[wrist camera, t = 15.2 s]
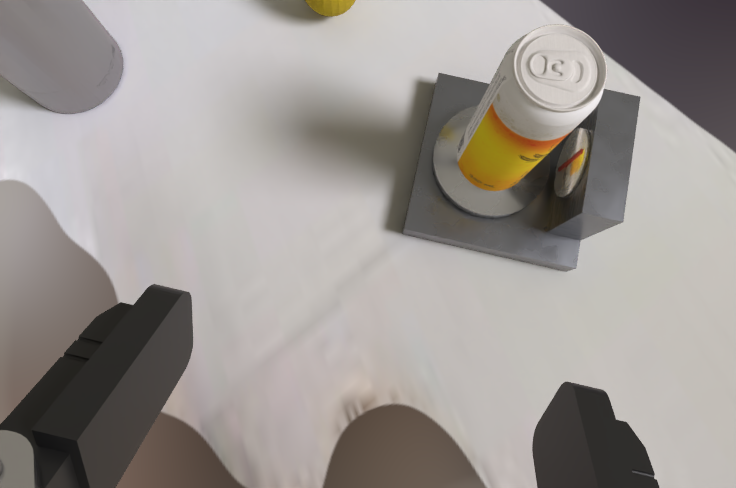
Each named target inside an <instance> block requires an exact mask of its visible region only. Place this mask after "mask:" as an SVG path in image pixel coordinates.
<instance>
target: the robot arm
mask: <svg viewBox="0 0 736 488" xmlns="http://www.w3.org/2000/svg"><path fill="white" fill-rule="evenodd" d="M122 72H123V57H122V53H121V50H120V48H119V46H118V44H117V42H116V41H115V40H114V39H113V37H112V36H111V35H110V34H109V33H108V31H107V30H106V29H105V28H104V26H103V25H102V24H101V23H100V21H99V20H98V19H97V18H96V16H95V15H94V14H93V13H92V11H91V10H90V9H89V8H88V6H87V5H86V4H85V3H84V2H83V0H0V76H2V77H3V78H5V79H6V80H7V81H9V82H10V83H11V84H13V85H14V86H15V87H17V88H18V89H20V90H21V91H22V92H24V93H25V94H26V95H28V96H29V97H31V98H32V99H33V100H35V101H36V102H37V103H39V104H40V105H42V106H43V107H45V108H47V109H49V110H51V111H55V112H59V113H78V112H84V111H87V110H89V109H92V108H94V107H96V106H98V105H99V104H101V103H103V102H104V101H105V100H106V99H107V98H108V97H109V96H110V95H111V94H112V93H113V92H114V90H115V89H116V88H117V86H118V84H119V81H120V79H121V76H122ZM192 348H193V325H192V300H191V295H190V293H189V292H186V291H182V290H177V289H173V288H169V287H164V286H160V285H156V284H153V285H151V286H149V287H148V288H147V289H146V290H145V292H144V293H143V294H142V295H141V297H140V298H139V299H138V300H137V301H136V303H135V304H134V305H130V304H126V303H119V304H117V305H116V306H114V307H112V308H111V309H109V310H107V311H105V312H104V313H102V314H100V315H99V316H97V317H96V318H95V319H94V320H93V321H92V322H91V324H90V325H89V326H88V327H87V328H86V329H85V330H84V331H83V333H82V334H81V335H80V336H79V339H78V340H77V341H74V343H73V344H72V345H71V346H70V347H69V348H68V349H67V350H66V352H65V353H64V356H63V357H60V358H59V359H58V361H57V362H56V363H55V364H54V365H53V366H52V367H51V368H50V370H49V371H48V372H47V373H46V374H45V375H44V376H43V378H42V379H41V380H40V381H39V382H38V383H37V384H36V385H35V387H34V388H33V389H32V390H31V391H30V392H29V393H28V395H26V397H25V398H24V399H23V400H22V401H21V402H20V404H19V405H18V406H17V407H16V408H15V409H14V410H13V411H12V412H11V414H10V415H9V416H8V417H7V418H6V419H5V420H4V421H3V422H2V423H1V424H0V488H115V487H116V486H117V484H118V482H119V481H120V479H121V477H122V475H123V474H124V472H125V471H126V469H127V467H128V465H129V464H130V462H131V460H132V459H133V457H134V455H135V454H136V452H137V450H138V448H139V447H140V445H141V443H142V442H143V440H144V438H145V437H146V435H147V433H148V432H149V430H150V428H151V426H152V425H153V423H154V422H155V419H156V418H157V416H158V415H159V413H160V411H161V410H162V408H163V406H164V405H165V403H166V401H167V400H168V398H169V396H170V394H171V393H172V391H173V389H174V388H175V386H176V384H177V383H178V381H179V379H180V378H181V376H182V374H183V372H184V371H185V369H186V367H187V365H188V362H189V359H190V356H191V353H192ZM533 459H534V466H535V473H536V480H537V487H538V488H659V485H658V482H657V480H656V479H654V475H655V474H654V471H653V468H652V465H651V462H650V460H649V457H648V454H647V451H646V448H645V447H644V445H643V444H642V442H641V441H640V440H639V438H638V437H637V436H636V434H635V433H634V431H633V430H632V429H631V427H630V426H629V425H628V423H627V422H623V421H619V420H616V418H615V415H614V412H613V409H612V406H611V403H610V400H609V397H608V395H607V393H606V392H605V391H603V390H601V389H596V388H592V387H588V386H584V385H579V384H575V383H571V382H564V383H563V384H562V385H561V386H560V388H559V389H558V391H557V393H556V394H555V396H554V398H553V399H552V401H551V402H550V404H549V406H548V407H547V409H546V411H545V412H544V414H543V416H542V417H541V419H540V421H539V422H538V424H537V426H536V429H535V432H534V437H533Z"/></svg>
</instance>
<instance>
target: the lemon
mask: <svg viewBox="0 0 736 488" xmlns="http://www.w3.org/2000/svg"><path fill="white" fill-rule="evenodd" d="M305 1H306V2H307V4H308V5H309V6H310V7H311V8H312V9H313V10H314V11H315V12H317V13H319V14H321V15H324V16H338V15H341V14H343V13H345V12H346V11H347V10H348V9H350V7H351V6H352V5H353V4H354V2H355V0H305Z"/></svg>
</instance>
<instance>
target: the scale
mask: <svg viewBox="0 0 736 488" xmlns="http://www.w3.org/2000/svg"><path fill="white" fill-rule="evenodd" d="M489 85H490V84H487V83H483V82H478V81H474V80H469V79H464V78H460V77H455V76H451V75H446V74H442V73H439V74H438V77H437V80H436V84H435V88H434V93H433V97H432V102H431V106H430V111H429V115H428V120H427V124H426V129H425V133H424V138H423V142H422V147H421V151H420V156H419V161H418V165H417V170H416V174H415V179H414V183H413V188H412V192H411V197H410V201H409V206H408V210H407V215H406V219H405V224H404V228H403V233H402V234H405V235H409V236H414V237H418V238H423V239H427V240H431V241H436V242H440V243H444V244H449V245H453V246H458V247H462V248H466V249H471V250H475V251H480V252H484V253H488V254H493V255H497V256H501V257H506V258H510V259H515V260H519V261H523V262H528V263H532V264H536V265H541V266H545V267H550V268H554V269H558V270H563V271H569V270H572V269H576V266H577V259H578V253H579V246H580V240H582V239H585V238H587V237H589V236H592V235H594V234H596V233H599V232H601V231H603V230H606V229H608V228H610V227H613V226H615V225H617V224H620V223H622V222H623V219H624V212H625V205H626V197H627V190H628V183H629V175H630V168H631V161H632V153H633V146H634V139H635V132H636V124H637V117H638V110H639V102H640V97H638V96H634V95H629V94H625V93H620V92H616V91H611V90H607V89H604V90H603V94H602V97H601V99H600V102H599V103H598V105H597V107H596V108H595V109H594V110H593V111H592V112H591V113H590V114H589V115H588V116H587V117H586V118H585V119H584V120H583V121H582V122H581V123H580V124H579V125H578V126H577V127H576V128H575V129H574V130H572V131H571V132H570V133H569V134H568V135H567V136H566V137H565V138H564V139H563V140H562V141H561V142H560V143H559V144H558V145H557V146H556V147H555V148H554V149H553V150H551V151H550V152H549V154H550V171H549V175H548V179H547V182H546V184H545V186H544V188H543V190H542V191H541V193H540V194H539V195H538V196H537V198H536V199H534V200H533V201H532V202H531V203H530V204H529V205H527V206H526V207H525V208H523V209H522V210H520V211H518V212H516V213H514V214H511V215H508V216H504V217H497V218H486V217H480V216H476V215H473V214H470V213H468V212H465V211H463V210H462V209H460V208H458V207H457V206H456V205H454V204H453V203H452V202H451V201H450V200H449V199H448V198H447V197H446V196H445V195H444V193H443V192H442V190H441V189H440V187H439V185H438V183H437V181H436V178H435V175H434V171H433V151H434V147H435V143H436V141H437V138H438V136H439V134H440V132H441V130H442V129H443V127H444V126H445V125H446V123H447V122H448V121H449V120H450V119H451V118H452V117H453V116H455V115H456V114H458V113H459V112H461V111H463V110H465V109H467V108H470V107H473V106H477V105H479V104H480V102H481V100H482V98H483V96H484V94H485V92H486V90H487V88H488V87H489Z"/></svg>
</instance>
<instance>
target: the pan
mask: <svg viewBox="0 0 736 488" xmlns="http://www.w3.org/2000/svg"><path fill="white" fill-rule="evenodd" d="M478 106H479V105H477V106H473V107H470V108H467V109H465V110H463V111H461V112H459V113H458V114H456V115H455V116H453V117H452V118H451V119H450V120H449V121H448V122H447V123H446V125H445V126H444V127H443V129H442V130H441V132H440V134H439V136H438V138H437V141H436V143H435V147H434V151H433V171H434V175H435V178H436V181H437V183H438V185H439V187H440V189H441V190H442V192H443V193H444V195H445V196H446V197H447V198H448V199H449V200H450V201H451V202H452V203H453V204H454V205H456V206H457V207H458V208H460V209H462V210H463V211H465V212H468V213H470V214H473V215H476V216H480V217H486V218H497V217H504V216H508V215H511V214H514V213H516V212H518V211H520V210H522V209H523V208H525V207H526V206H527V205H529V204H530V203H531V202H532V201H533V200H534V199H536V198H537V196H538V195H539V194H540V193H541V191H542V190H543V188H544V186H545V184H546V182H547V179H548V175H549V171H550V154H549V153H548V154H547V155H546V156H545V157H544V158H543V159H542V160H541V161H540V162H539V163H538V164H537V165H536V166H535V167H534V168H533V169H532V170H531V171H529V172H528V173H527V174H526V175H525V176H524V177H523V178H522V179H521V180H520V181H519V182H518V183H517V184H515V185H514V186H512V187H510V188H508V189H505V190H501V191H488V190H484V189H481V188H478V187H476V186H475V185H473V184H472V183H470V182H469V181H468V180H467V179H466V178H465V177H464V175H463V174H462V172H461V171H460V168H459V166H458V162H457V148H458V144H459V142H460V140H461V138H462V136H463V134H464V132H465V130H466V128H467V126H468V125H469V123H470V121H471V119H472V117H473V115H474V113H475V111H476V109H477V107H478Z"/></svg>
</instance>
